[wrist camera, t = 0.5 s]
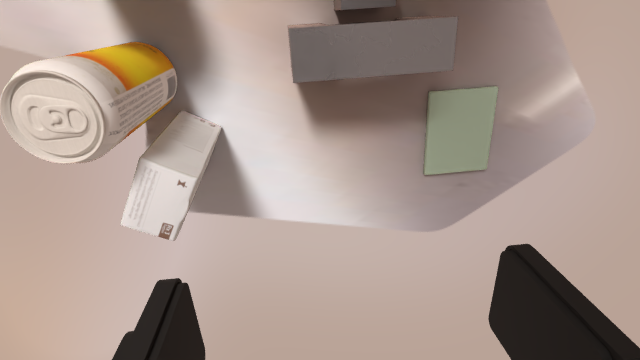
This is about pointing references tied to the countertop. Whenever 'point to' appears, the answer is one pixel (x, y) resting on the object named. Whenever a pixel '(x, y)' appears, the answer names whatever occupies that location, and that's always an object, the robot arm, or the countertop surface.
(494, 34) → the countertop surface
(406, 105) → the countertop surface
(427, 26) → the block
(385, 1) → the plug
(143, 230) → the skincare box
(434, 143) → the mat
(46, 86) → the beer can
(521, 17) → the countertop surface
